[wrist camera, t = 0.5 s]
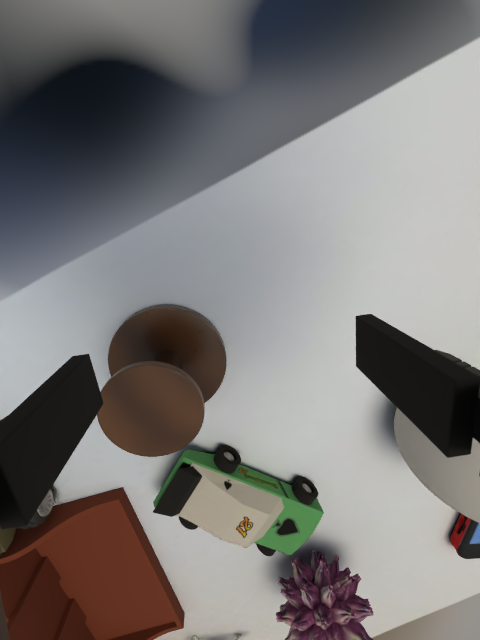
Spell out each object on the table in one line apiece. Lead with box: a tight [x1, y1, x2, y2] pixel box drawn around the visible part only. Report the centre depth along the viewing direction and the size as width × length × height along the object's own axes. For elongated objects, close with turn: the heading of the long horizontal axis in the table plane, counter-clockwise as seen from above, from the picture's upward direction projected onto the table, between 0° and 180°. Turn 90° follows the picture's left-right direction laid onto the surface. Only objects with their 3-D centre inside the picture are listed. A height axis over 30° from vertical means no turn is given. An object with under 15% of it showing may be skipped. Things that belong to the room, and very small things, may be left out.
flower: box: [276, 551, 373, 640], centre depth 38 cm, size 12×12×12 cm
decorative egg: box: [394, 408, 480, 523], centre depth 30 cm, size 12×12×15 cm
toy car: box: [153, 445, 324, 556], centre depth 36 cm, size 10×19×5 cm, turn 61°
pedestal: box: [97, 305, 226, 457], centre depth 28 cm, size 12×12×10 cm
